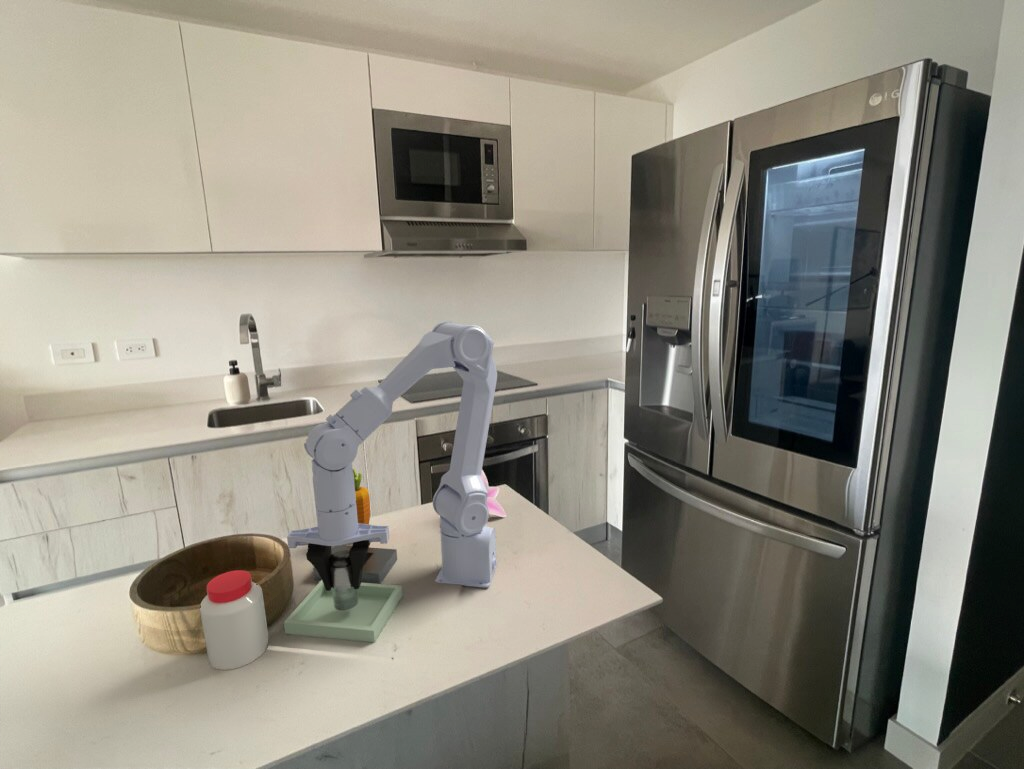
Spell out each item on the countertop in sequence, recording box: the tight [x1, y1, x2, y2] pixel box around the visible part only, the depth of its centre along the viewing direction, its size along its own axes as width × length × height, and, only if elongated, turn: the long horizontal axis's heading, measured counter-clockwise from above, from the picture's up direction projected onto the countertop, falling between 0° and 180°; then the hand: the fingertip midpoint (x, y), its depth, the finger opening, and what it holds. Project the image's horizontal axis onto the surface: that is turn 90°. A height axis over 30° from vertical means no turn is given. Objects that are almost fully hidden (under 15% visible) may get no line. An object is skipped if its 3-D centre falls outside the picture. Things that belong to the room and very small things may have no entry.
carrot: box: [352, 468, 371, 525], centre depth 102 cm, size 5×5×15 cm
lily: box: [481, 469, 507, 522], centre depth 113 cm, size 12×12×10 cm
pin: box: [329, 550, 358, 610], centre depth 81 cm, size 4×4×8 cm
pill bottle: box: [199, 569, 270, 671], centre depth 74 cm, size 8×8×11 cm
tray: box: [283, 580, 403, 644], centre depth 81 cm, size 14×11×2 cm
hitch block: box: [312, 545, 398, 584], centre depth 93 cm, size 12×8×3 cm, turn 81°
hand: (344, 586), depth 80 cm, fingers closed on pin, 4 cm apart
